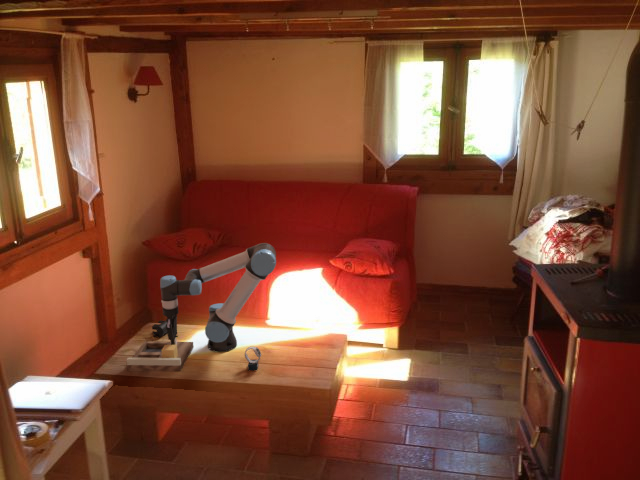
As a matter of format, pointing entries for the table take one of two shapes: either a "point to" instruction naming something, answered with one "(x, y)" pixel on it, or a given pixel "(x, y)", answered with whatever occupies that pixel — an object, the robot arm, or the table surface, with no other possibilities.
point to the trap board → (159, 357)
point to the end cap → (159, 329)
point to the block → (169, 351)
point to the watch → (253, 363)
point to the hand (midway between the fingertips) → (174, 350)
